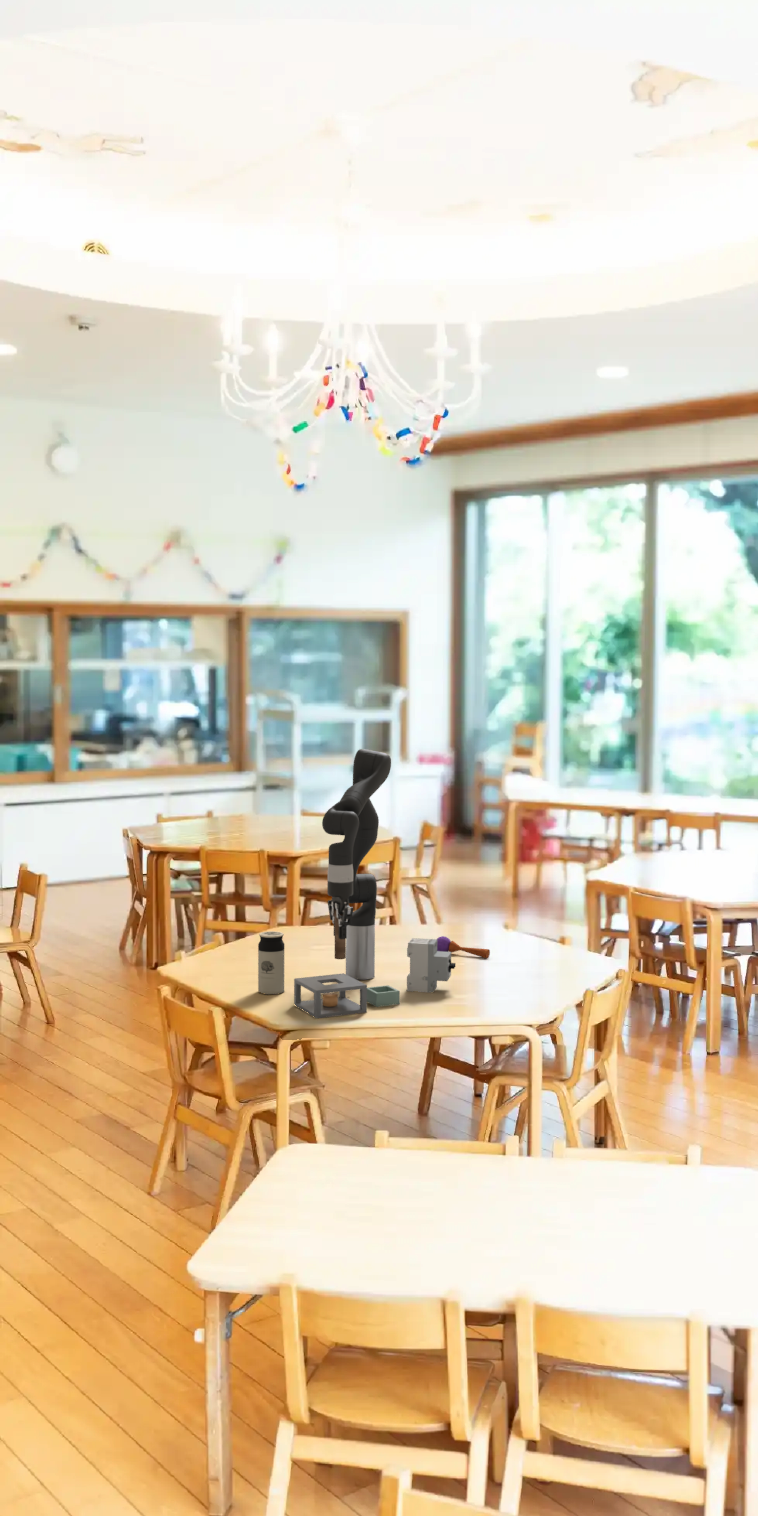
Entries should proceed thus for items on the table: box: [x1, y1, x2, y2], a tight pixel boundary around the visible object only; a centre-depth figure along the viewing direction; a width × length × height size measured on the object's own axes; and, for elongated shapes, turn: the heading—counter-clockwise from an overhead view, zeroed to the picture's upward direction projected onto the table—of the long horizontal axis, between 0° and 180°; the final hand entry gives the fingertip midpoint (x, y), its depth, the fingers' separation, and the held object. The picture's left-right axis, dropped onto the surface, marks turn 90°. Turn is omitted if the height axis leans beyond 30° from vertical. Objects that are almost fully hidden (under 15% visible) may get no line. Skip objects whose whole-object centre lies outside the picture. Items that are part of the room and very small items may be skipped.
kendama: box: [436, 935, 491, 960], centre depth 469 cm, size 6×6×20 cm
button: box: [322, 992, 339, 1007], centre depth 396 cm, size 4×4×3 cm
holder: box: [367, 984, 401, 1008], centre depth 404 cm, size 8×8×4 cm
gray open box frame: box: [293, 972, 368, 1019], centre depth 396 cm, size 16×16×8 cm
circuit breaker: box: [406, 937, 456, 993], centre depth 420 cm, size 8×14×15 cm, turn 78°
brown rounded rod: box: [334, 911, 346, 960], centre depth 397 cm, size 3×3×14 cm
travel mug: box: [257, 930, 285, 995], centre depth 416 cm, size 8×8×18 cm
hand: (339, 937), depth 397 cm, fingers closed on brown rounded rod, 3 cm apart
